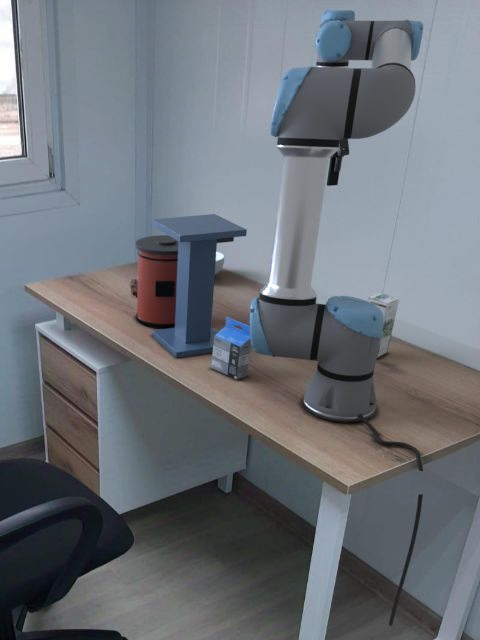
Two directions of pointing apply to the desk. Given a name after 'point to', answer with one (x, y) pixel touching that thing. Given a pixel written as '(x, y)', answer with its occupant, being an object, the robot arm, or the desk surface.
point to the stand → (194, 281)
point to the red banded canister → (157, 290)
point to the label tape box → (232, 349)
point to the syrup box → (385, 318)
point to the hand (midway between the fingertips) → (316, 180)
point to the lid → (164, 244)
